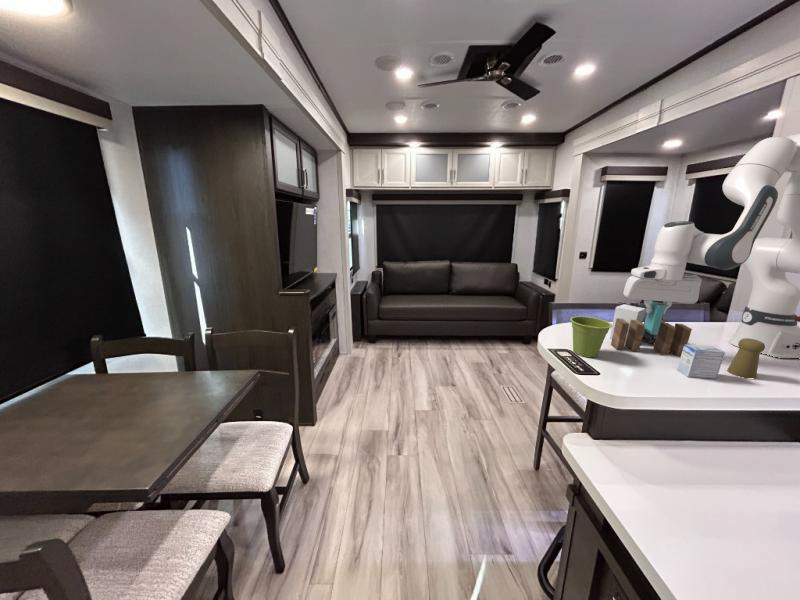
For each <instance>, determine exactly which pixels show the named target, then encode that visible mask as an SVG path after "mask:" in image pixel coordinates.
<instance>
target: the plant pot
mask: <svg viewBox="0 0 800 600" xmlns="http://www.w3.org/2000/svg"><path fill="white" fill-rule="evenodd" d="M570 322H571V328H572V351H573V353H575V354H576V355H578V356H580V355H581V356H580V357H585V358H591V357H593V358H596V357H598V355H599V353H600V350H601V348H602V345H603V343H604V340H605V339H606V335H607V334H608V332H609V330H610V329H612V324H613V323H611V322H609V321H607V320H604V319H601V318H598V317H591V316H583V315H582V316H572V317H571V318H570Z"/></svg>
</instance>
